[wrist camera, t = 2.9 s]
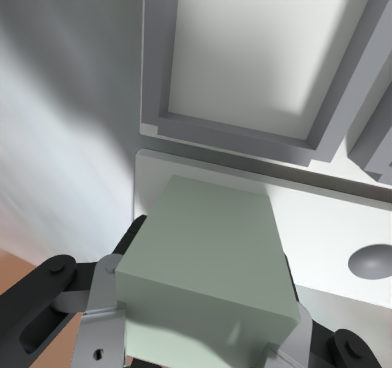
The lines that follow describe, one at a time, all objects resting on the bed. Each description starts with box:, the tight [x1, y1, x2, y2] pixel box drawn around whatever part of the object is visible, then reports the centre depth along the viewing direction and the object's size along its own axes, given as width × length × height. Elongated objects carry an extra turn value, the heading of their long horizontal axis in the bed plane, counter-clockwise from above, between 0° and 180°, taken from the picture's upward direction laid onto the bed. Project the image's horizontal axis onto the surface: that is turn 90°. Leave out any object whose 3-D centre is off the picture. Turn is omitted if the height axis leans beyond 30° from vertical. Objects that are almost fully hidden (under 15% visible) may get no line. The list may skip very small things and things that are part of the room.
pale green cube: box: [115, 175, 301, 368], centre depth 10 cm, size 6×6×6 cm
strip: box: [134, 148, 392, 309], centre depth 11 cm, size 20×7×5 cm, turn 80°
